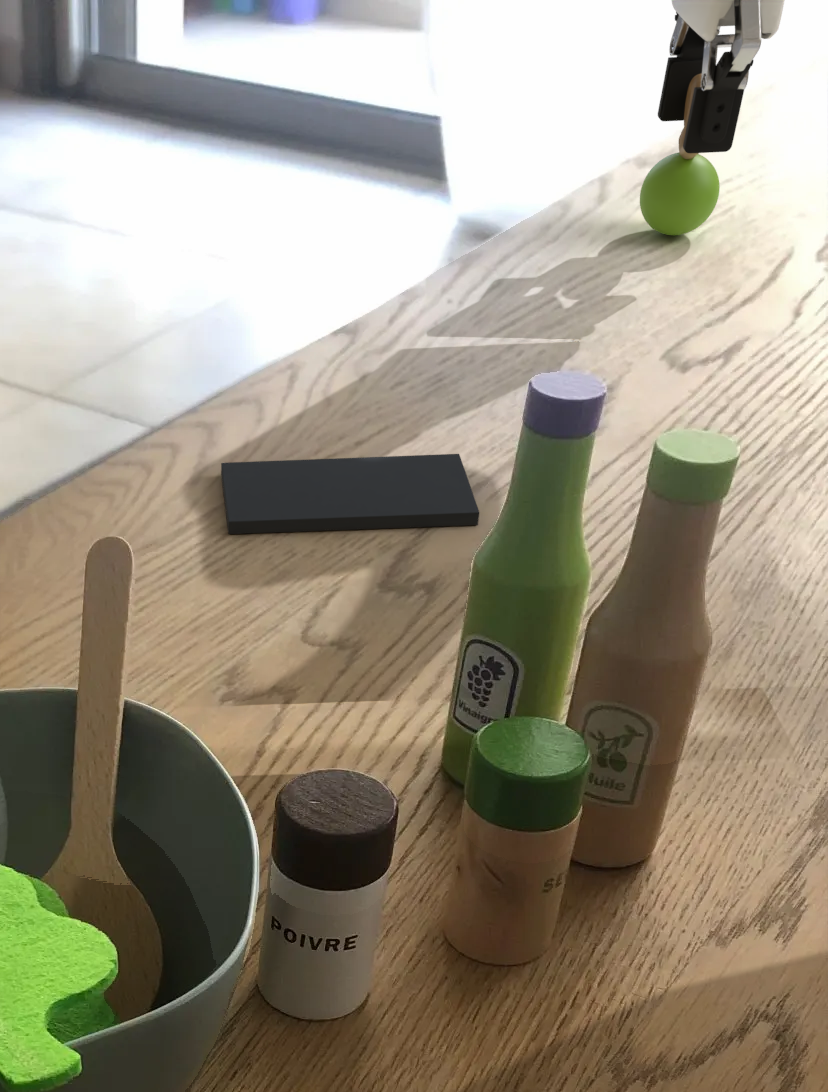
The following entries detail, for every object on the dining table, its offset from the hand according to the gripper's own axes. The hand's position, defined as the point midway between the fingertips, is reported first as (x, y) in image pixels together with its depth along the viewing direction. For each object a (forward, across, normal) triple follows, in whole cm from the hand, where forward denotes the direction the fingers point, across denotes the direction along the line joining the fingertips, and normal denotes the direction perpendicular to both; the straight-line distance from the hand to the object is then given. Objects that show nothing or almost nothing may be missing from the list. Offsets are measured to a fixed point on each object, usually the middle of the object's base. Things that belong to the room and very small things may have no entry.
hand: (693, 132), depth 115 cm
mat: (+7, -37, +28) cm, 47 cm away
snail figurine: (+7, 0, 0) cm, 7 cm away
